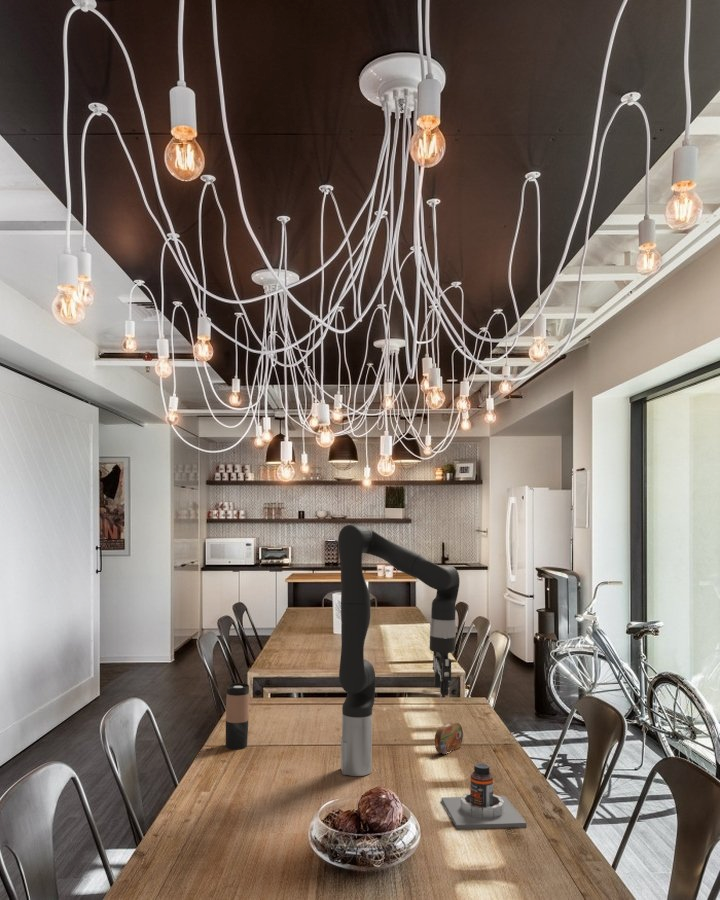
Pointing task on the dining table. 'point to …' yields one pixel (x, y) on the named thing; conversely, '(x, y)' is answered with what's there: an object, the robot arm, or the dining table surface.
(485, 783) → the supplement bottle
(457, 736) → the tin
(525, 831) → the dining table surface
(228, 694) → the travel mug
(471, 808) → the collar
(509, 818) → the duct base board
